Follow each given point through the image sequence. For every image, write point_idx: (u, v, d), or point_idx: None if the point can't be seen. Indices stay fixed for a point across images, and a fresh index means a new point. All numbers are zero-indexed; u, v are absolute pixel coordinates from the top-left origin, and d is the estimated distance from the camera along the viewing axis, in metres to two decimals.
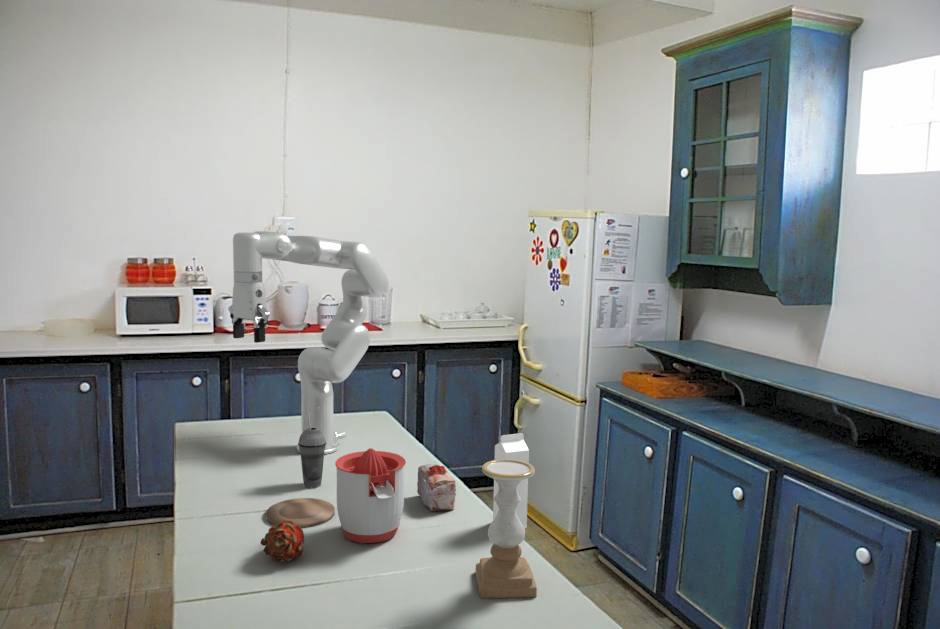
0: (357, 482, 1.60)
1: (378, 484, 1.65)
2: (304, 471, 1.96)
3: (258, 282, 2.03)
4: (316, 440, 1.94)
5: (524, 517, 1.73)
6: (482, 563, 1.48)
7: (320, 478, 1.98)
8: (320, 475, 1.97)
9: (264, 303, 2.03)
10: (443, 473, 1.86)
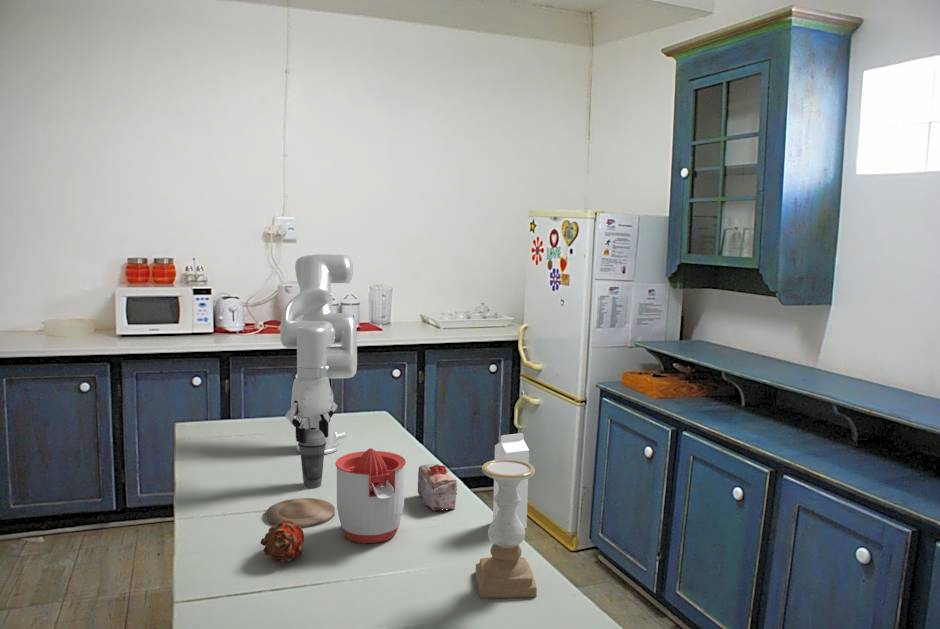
0: (357, 482, 1.60)
1: (378, 484, 1.65)
2: (304, 471, 1.96)
3: None
4: (316, 440, 1.94)
5: (524, 517, 1.73)
6: (482, 563, 1.48)
7: (320, 478, 1.98)
8: (320, 475, 1.97)
9: None
10: (444, 473, 1.86)
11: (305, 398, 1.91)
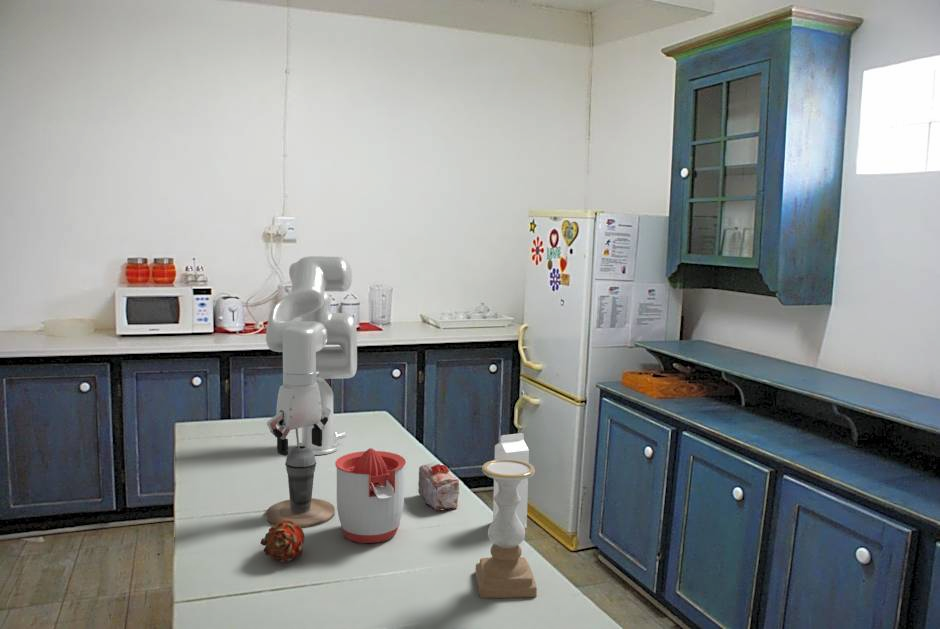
0: (357, 482, 1.60)
1: (378, 484, 1.65)
2: (291, 494, 1.77)
3: None
4: (305, 460, 1.75)
5: (524, 517, 1.73)
6: (482, 563, 1.48)
7: (309, 502, 1.78)
8: (309, 499, 1.78)
9: None
10: (446, 472, 1.86)
11: (292, 408, 1.72)
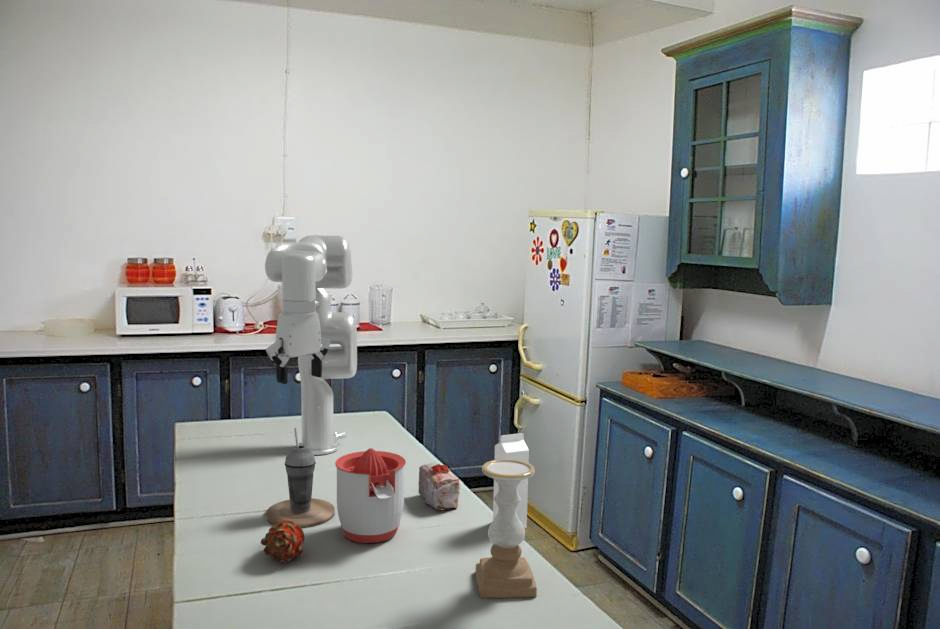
0: (357, 482, 1.60)
1: (378, 484, 1.65)
2: (291, 494, 1.77)
3: None
4: (304, 460, 1.75)
5: (524, 517, 1.73)
6: (482, 563, 1.48)
7: (309, 502, 1.78)
8: (309, 498, 1.78)
9: None
10: (446, 472, 1.86)
11: (291, 335, 1.70)
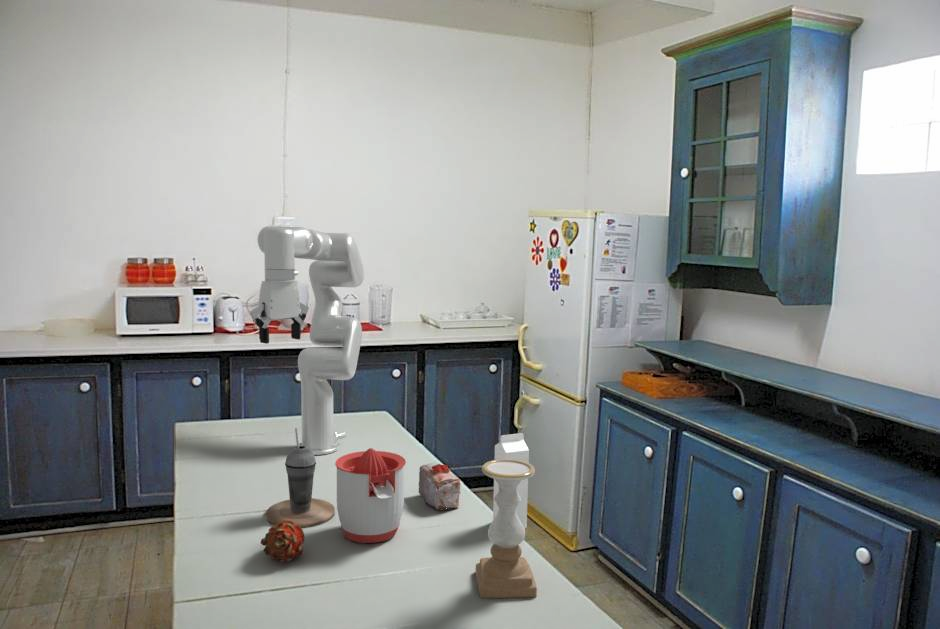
0: (357, 482, 1.60)
1: (378, 484, 1.65)
2: (291, 494, 1.77)
3: None
4: (305, 460, 1.75)
5: (524, 517, 1.73)
6: (482, 563, 1.48)
7: (309, 502, 1.78)
8: (309, 499, 1.78)
9: None
10: (447, 472, 1.87)
11: (272, 299, 1.90)
